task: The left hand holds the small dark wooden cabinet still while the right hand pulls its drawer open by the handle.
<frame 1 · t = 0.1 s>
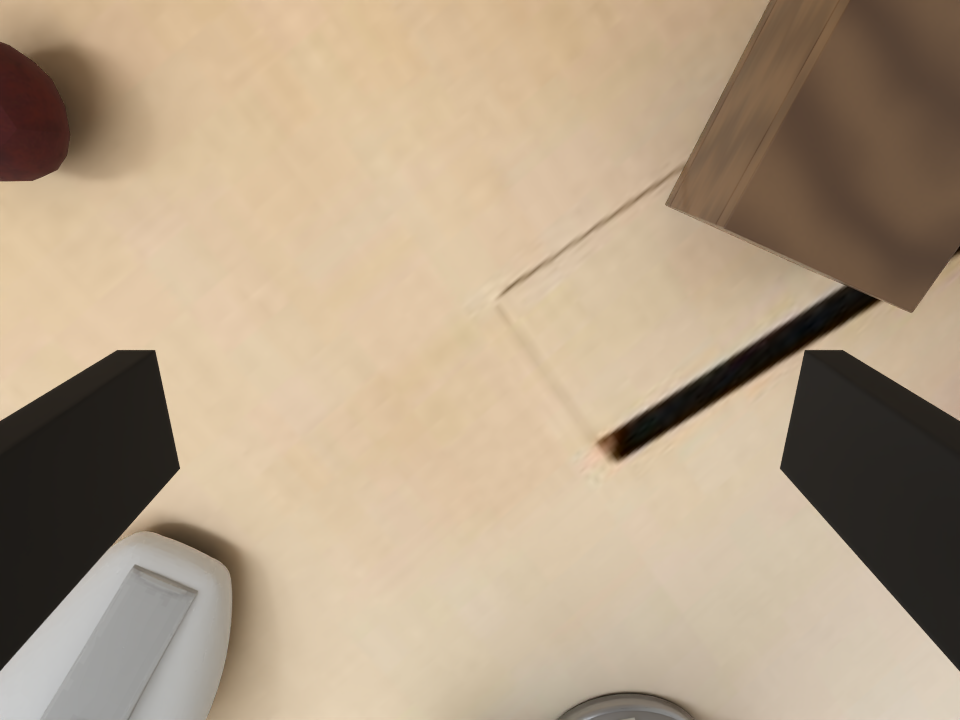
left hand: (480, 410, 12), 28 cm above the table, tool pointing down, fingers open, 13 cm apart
cabinet: (825, 89, 36), on the table
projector: (143, 628, 51), on the table
dark red rounded piece: (36, 114, 36), on the table
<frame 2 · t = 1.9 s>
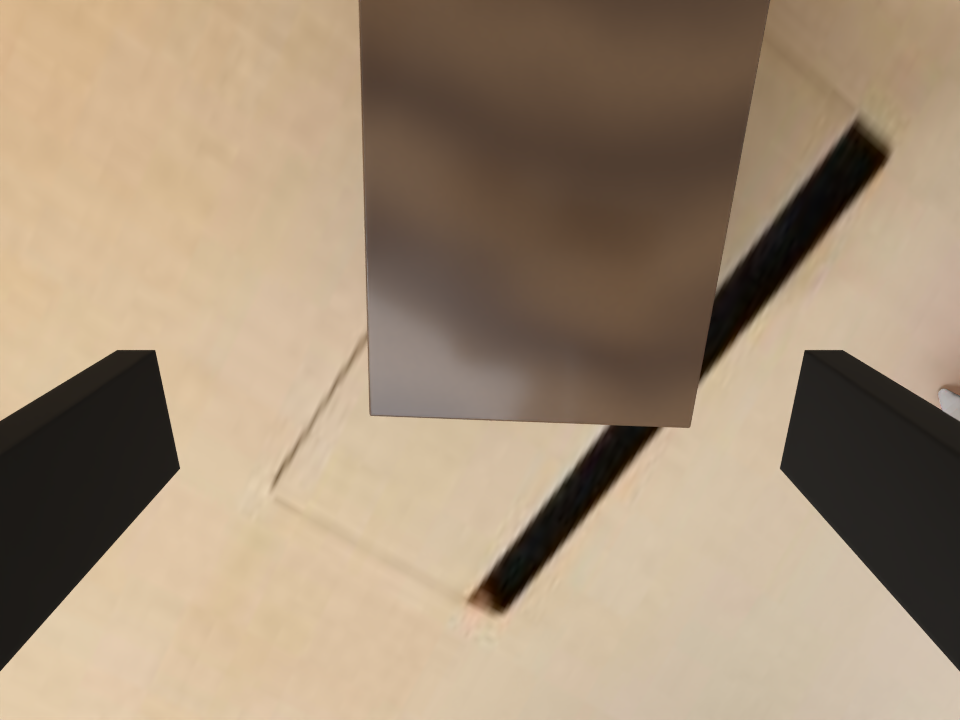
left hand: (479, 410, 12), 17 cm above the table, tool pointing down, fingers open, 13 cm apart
cabinet: (528, 128, 26), on the table
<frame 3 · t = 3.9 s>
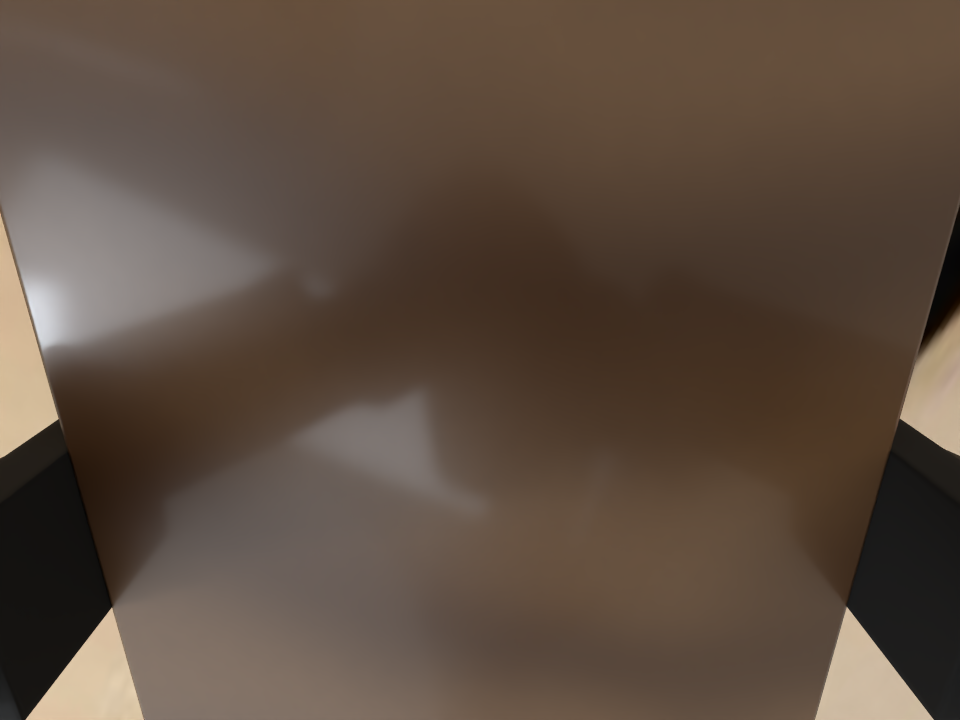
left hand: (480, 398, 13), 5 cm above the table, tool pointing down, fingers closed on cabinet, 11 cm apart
cabinet: (479, 159, 16), on the table, touching left hand
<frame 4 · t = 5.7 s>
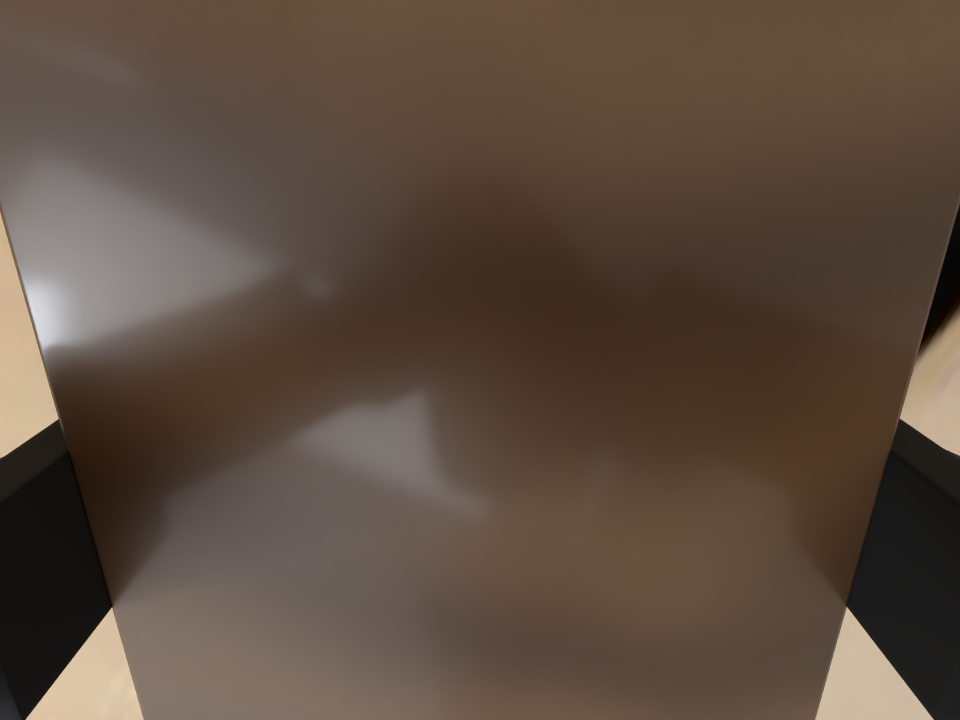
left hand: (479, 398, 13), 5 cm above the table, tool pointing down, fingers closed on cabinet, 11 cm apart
cabinet: (479, 159, 16), on the table, touching left hand
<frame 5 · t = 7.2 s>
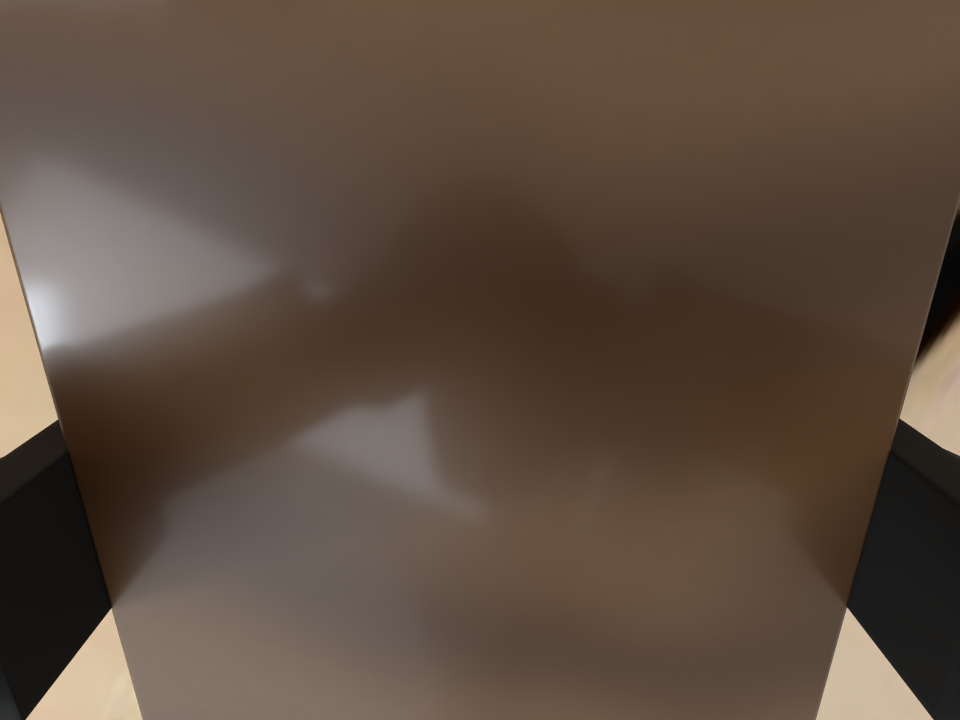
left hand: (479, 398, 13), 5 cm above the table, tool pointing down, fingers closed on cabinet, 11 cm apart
cabinet: (478, 160, 16), on the table, touching left hand
when the left hand's fingers open (5 cm above the table, at t = 8.9 s): cabinet stays where it is, on the table.
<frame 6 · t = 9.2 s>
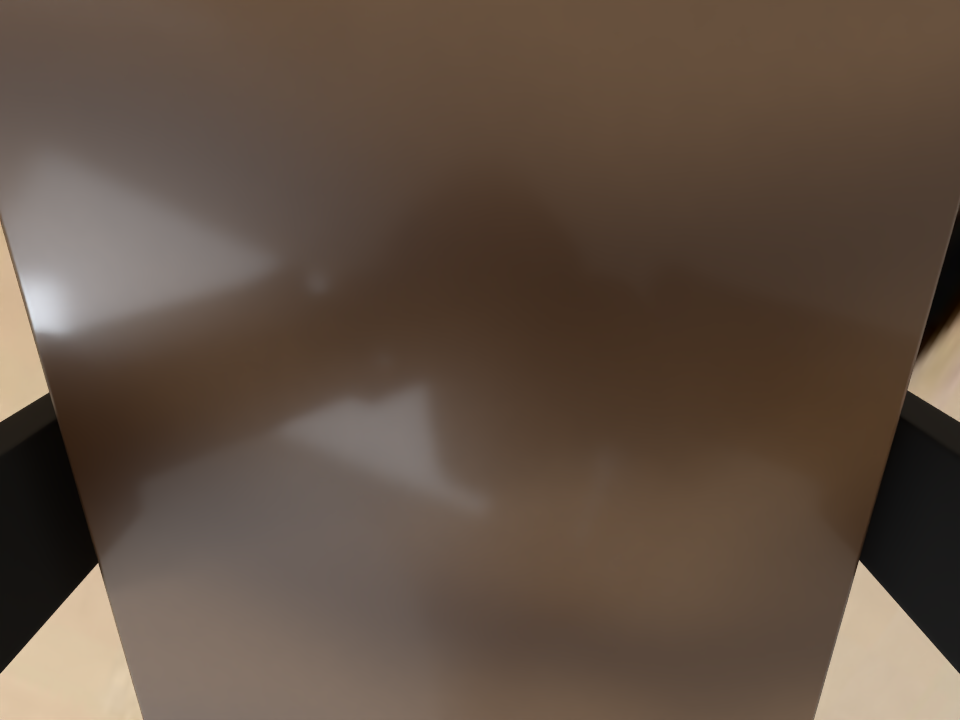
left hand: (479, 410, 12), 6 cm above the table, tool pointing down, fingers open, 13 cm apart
cabinet: (479, 150, 16), on the table
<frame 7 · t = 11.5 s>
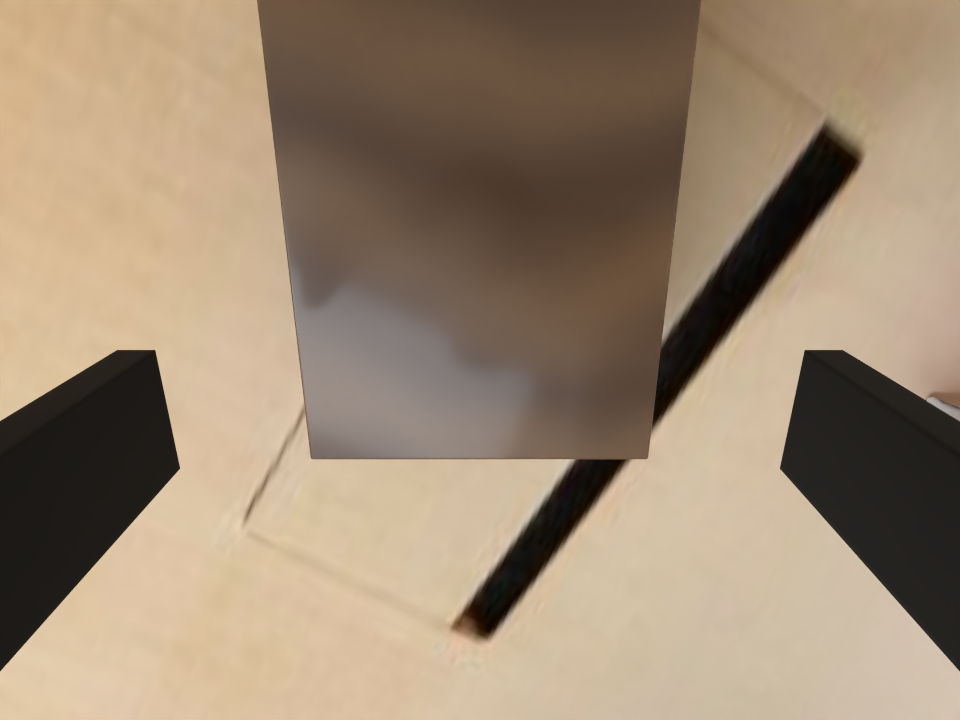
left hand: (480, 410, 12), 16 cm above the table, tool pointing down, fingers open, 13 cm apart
cabinet: (479, 144, 25), on the table
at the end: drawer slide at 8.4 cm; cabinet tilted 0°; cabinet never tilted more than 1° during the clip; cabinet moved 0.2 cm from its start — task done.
